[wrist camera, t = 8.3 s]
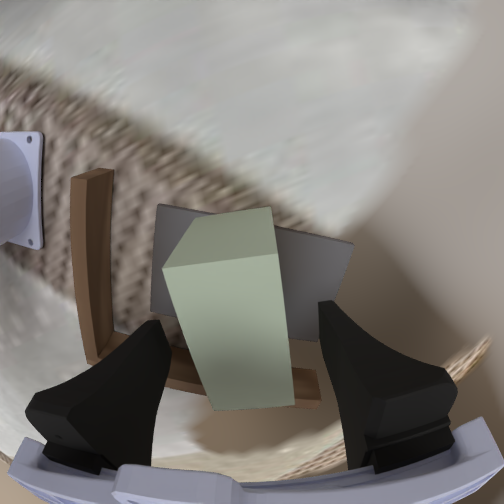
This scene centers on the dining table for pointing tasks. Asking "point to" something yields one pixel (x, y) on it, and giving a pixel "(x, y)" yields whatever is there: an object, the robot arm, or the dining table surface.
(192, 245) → the sage block
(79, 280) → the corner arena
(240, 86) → the dining table surface
